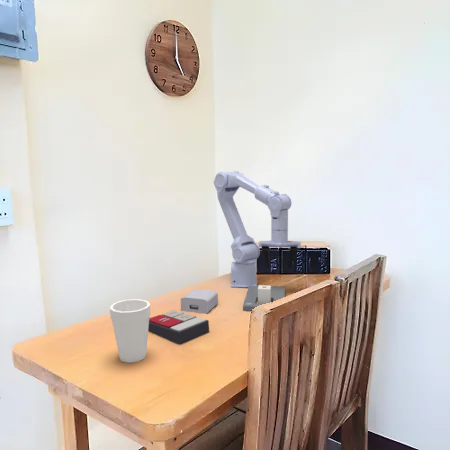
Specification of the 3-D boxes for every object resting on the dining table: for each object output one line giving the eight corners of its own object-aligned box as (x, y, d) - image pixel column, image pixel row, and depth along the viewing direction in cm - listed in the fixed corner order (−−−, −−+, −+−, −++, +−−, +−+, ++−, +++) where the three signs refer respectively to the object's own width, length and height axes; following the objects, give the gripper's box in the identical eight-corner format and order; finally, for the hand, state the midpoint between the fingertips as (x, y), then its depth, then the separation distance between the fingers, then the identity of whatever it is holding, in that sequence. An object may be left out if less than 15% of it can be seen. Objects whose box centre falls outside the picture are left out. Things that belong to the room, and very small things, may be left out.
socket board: (242, 310, 132) (242, 305, 131) (249, 289, 153) (249, 284, 153) (284, 312, 130) (284, 306, 130) (284, 290, 151) (284, 285, 151)
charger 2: (257, 306, 135) (257, 288, 134) (258, 302, 139) (258, 284, 138) (270, 307, 135) (270, 288, 134) (270, 303, 138) (270, 285, 137)
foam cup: (155, 347, 106) (153, 298, 104) (149, 365, 97) (146, 312, 95) (118, 348, 106) (115, 299, 104) (108, 366, 97) (104, 312, 95)
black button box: (174, 308, 126) (209, 317, 115) (175, 322, 126) (210, 332, 116) (144, 318, 118) (178, 329, 107) (145, 333, 118) (179, 345, 108)
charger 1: (224, 299, 144) (207, 314, 130) (200, 296, 147) (181, 311, 133) (224, 286, 143) (207, 299, 129) (199, 283, 146) (180, 296, 132)
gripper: (257, 231, 142) (258, 269, 144) (301, 231, 140) (300, 270, 142) (259, 227, 149) (259, 264, 151) (300, 228, 147) (300, 265, 149)
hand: (279, 267), depth 147 cm, fingers open, 7 cm apart
